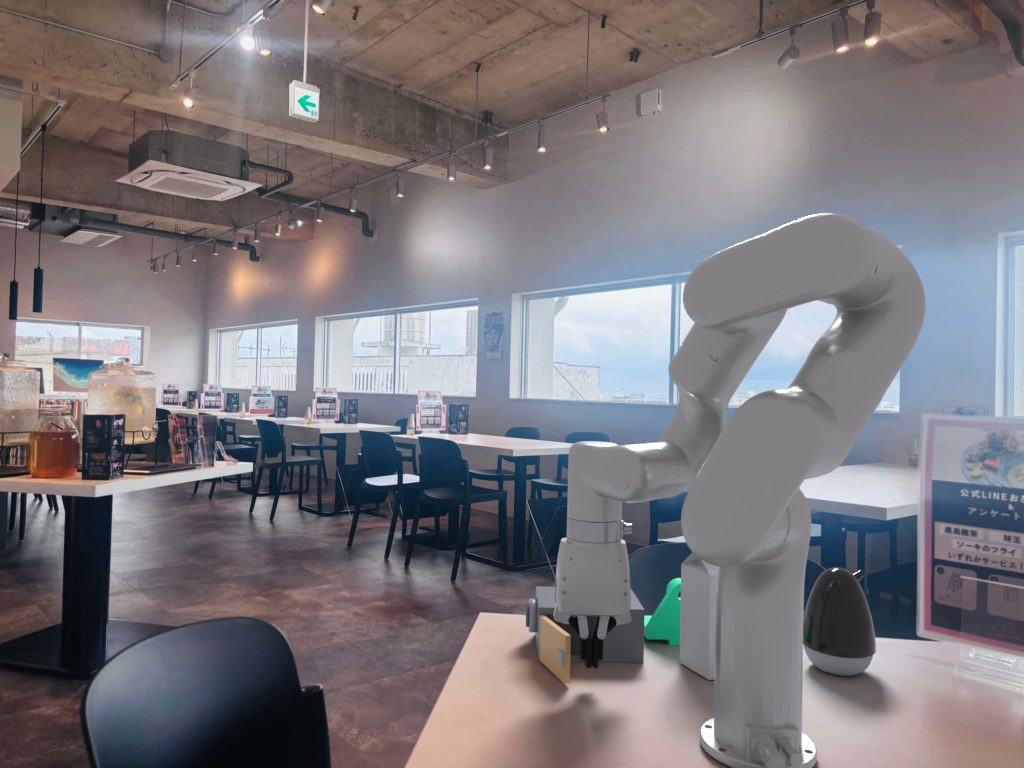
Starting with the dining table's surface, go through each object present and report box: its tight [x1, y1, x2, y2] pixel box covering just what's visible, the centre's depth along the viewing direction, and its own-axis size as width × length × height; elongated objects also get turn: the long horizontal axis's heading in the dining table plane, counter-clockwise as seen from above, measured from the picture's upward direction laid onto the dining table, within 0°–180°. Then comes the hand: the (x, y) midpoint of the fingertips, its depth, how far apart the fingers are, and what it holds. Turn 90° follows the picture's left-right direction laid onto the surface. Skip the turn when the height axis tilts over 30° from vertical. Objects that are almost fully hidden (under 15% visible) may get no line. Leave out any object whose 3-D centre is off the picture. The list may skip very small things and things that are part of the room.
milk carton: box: [679, 551, 719, 681], centre depth 105 cm, size 7×7×19 cm
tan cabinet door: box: [537, 615, 571, 684], centre depth 101 cm, size 1×10×6 cm, turn 20°
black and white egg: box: [803, 566, 877, 677], centre depth 106 cm, size 10×10×15 cm
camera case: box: [525, 585, 645, 664], centre depth 112 cm, size 12×18×9 cm
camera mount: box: [644, 577, 681, 646], centre depth 119 cm, size 12×8×10 cm, turn 92°
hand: (591, 664), depth 97 cm, fingers closed
